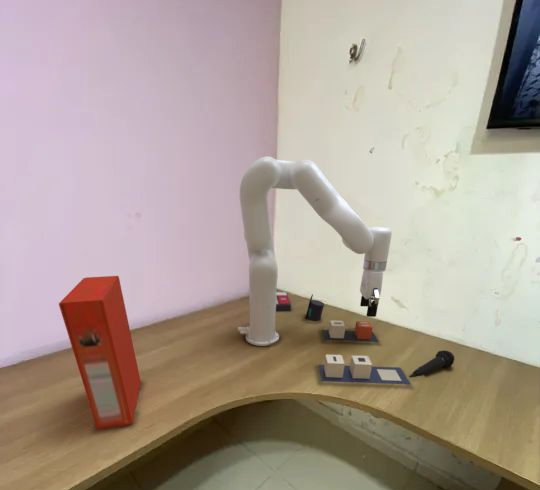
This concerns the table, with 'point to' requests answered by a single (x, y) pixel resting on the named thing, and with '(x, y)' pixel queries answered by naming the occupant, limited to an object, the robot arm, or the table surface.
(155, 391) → the table surface
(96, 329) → the file binder
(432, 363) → the microphone
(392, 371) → the front mat
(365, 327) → the block
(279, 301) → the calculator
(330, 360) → the white cube
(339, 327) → the block
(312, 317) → the speaker
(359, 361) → the block
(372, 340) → the back mat
